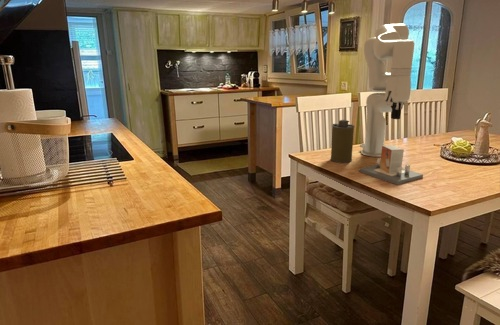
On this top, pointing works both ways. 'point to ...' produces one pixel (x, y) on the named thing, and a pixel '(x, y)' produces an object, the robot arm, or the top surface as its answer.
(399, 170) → the guide pins
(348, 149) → the canister
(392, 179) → the pin board
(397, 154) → the small box
